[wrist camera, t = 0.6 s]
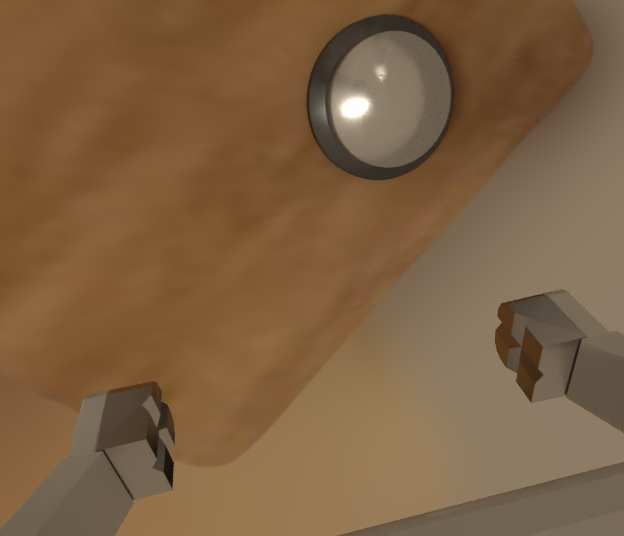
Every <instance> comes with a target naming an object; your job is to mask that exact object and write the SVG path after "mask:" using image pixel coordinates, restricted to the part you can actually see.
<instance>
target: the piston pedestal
mask: <svg viewBox="0 0 624 536" xmlns="http://www.w3.org/2000/svg"><path fill="white" fill-rule="evenodd" d="M452 105H453V81H452V75H451V71H450V67H449V64H448V61H447V59H446V57H445V55H444V53H443V51H442V49H441V47H440V46H439V44H438V43H437V41H436V40H435V39H434V38H433V37H432V36H431V35H430V34H429V33H428V32H427V31H426V30H425V29H423V28H422V27H421V26H419V25H417V24H416V23H414V22H412V21H410V20H407V19H405V18H401V17H397V16H388V15H383V16H374V17H369V18H365V19H363V20H360V21H358V22H355V23H353V24H351V25H349V26H347V27H346V28H344V29H342V30H341V31H340V32H339V33H337V34H336V35H335V36H334V37H333V38H332V39H331V40H330V41H329V42H328V43H327V45H326V46H325V47H324V49H323V50H322V51H321V53H320V55H319V57H318V58H317V60H316V62H315V65H314V67H313V70H312V72H311V76H310V79H309V83H308V90H307V113H308V119H309V124H310V128H311V130H312V133H313V136H314V138H315V140H316V142H317V144H318V146H319V147H320V149H321V150H322V152H323V153H324V154H325V155H326V156H327V158H328V159H329V160H330V161H331V162H332V163H334V164H335V165H336V166H337V167H339V168H340V169H342V170H344V171H345V172H348V173H350V174H352V175H354V176H357V177H361V178H364V179H371V180H385V179H392V178H395V177H398V176H401V175H404V174H406V173H408V172H410V171H412V170H413V169H415V168H416V167H418V166H419V165H420V164H421V163H423V162H424V161H425V160H426V159H427V158H428V157H429V156H430V155H431V154H432V152H433V151H434V150H435V149H436V147H437V146H438V144H439V143H440V141H441V139H442V138H443V135H444V133H445V131H446V129H447V126H448V123H449V120H450V116H451V112H452Z"/></svg>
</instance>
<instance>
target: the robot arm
mask: <svg viewBox="0 0 624 536" xmlns="http://www.w3.org/2000/svg"><path fill="white" fill-rule="evenodd" d="M498 318H499V319H500V320H501V322H502V323H501V324H500V326H499V327H498V328H497V329H496V332H495V344H496V349H497V352H498V354H499V357H500V359H501V360H502V362H503V363H504V365H505V367H506V368H508V369H510V370H512V371H514V372H516V373H517V378H516V382H517V384H518V385H519V387H520V388H521V389H522V391H523V392H524V393H525V395H526V396H527V398H528V399H529V401H530V402H531V403H534V402H538V401H543V400H548V399H552V398H557V397H562V396H566V395H567V396H566V397H567V398H568V399H569V400H571V401H573V402H574V403H576V404H578V405H579V406H581V407H583V408H584V409H586V410H587V411H589V412H591V413H592V414H594V415H596V416H597V417H599V418H600V419H602V420H604V421H605V422H607V423H609V424H610V425H612V426H613V427H615V428H617V429H618V430H620V431H622V432H623V433H624V334H622V333H619V332H617V331H615V332H609V331H608V330H607V329H606V328H604V326H603V325H602V324H601V323H599V322H598V321H597V320H596V319H595V318H594V317H593V316H592V315H591V314H590V313H589V312H588V311H587V310H586V309H585V308H584V307H583V306H582V305H581V304H580V303H579V302H578V301H577V300H576V299H575V298H574V297H573V296H572V295H571V294H570V293H569V292H567V291H565V290H563V289H560V290H556V291H551V292H547V293H543V294H541V295H535V296H530V297H526V298H522V299H518V300H513V301H509V302H505V303H502V304H501V305H500V307H499V309H498ZM161 400H162V391H161V389H160V387H159V385H158V383H157V382H155V381H153V382H147V383H142V384H137V385H132V386H127V387H122V388H117V389H112V390H110V391H105V392H100V393H95V394H89V395H87V396H86V397H85V399H84V400H83V402H82V406H81V410H80V414H79V418H78V422H77V427H76V430H75V434H74V439H73V443H72V447H71V451H70V455H69V459H65V460H61V462H60V463H59V464H58V465H57V466H56V467H55V468H54V470H53V471H52V472H51V473H50V474H49V475H48V476H47V477H46V478H45V480H44V481H43V482H42V483H41V484H40V485H39V486H38V487H37V489H36V490H35V491H34V492H33V493H32V494H31V495H30V497H29V498H28V499H27V500H26V501H25V502H24V503H23V504H22V506H21V507H20V508H19V509H18V510H17V511H16V512H15V513H14V514H13V516H12V517H11V518H10V519H9V520H8V521H7V522H6V524H5V525H4V526H3V527H2V528H1V529H0V536H115V534H116V533H117V531H118V529H119V528H120V526H121V524H122V522H123V521H124V519H125V517H126V516H127V514H128V512H129V511H130V509H131V507H132V505H133V504H134V502H133V500H137V499H141V498H144V497H148V496H152V495H156V494H159V493H163V492H166V491H170V490H173V489H172V488H173V470H174V462H173V460H172V458H171V456H170V454H169V453H170V451H171V450H172V448H173V447H174V446H175V430H174V421H173V418H172V414H171V411H170V409H169V406H168V405H167V404H165V403H163V402H161ZM338 536H624V462H622V463H618V464H614V465H610V466H606V467H602V468H598V469H594V470H590V471H587V472H583V473H579V474H575V475H571V476H567V477H564V478H559V479H555V480H552V481H548V482H544V483H541V484H536V485H533V486H529V487H525V488H521V489H517V490H513V491H509V492H505V493H501V494H497V495H494V496H489V497H486V498H482V499H478V500H474V501H470V502H467V503H462V504H459V505H455V506H451V507H447V508H443V509H439V510H435V511H432V512H428V513H424V514H420V515H416V516H412V517H408V518H404V519H400V520H397V521H393V522H389V523H385V524H381V525H377V526H373V527H369V528H365V529H361V530H357V531H354V532H350V533H346V534H342V535H338Z"/></svg>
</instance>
